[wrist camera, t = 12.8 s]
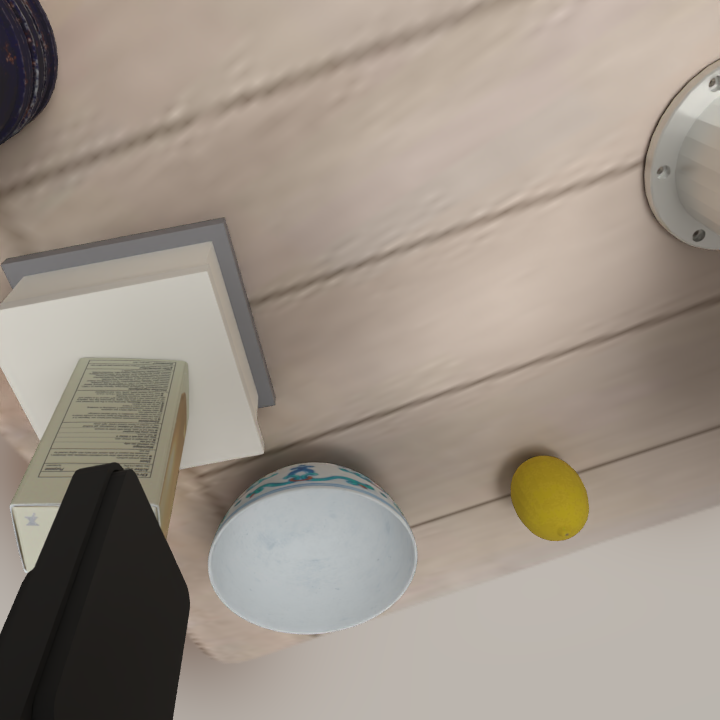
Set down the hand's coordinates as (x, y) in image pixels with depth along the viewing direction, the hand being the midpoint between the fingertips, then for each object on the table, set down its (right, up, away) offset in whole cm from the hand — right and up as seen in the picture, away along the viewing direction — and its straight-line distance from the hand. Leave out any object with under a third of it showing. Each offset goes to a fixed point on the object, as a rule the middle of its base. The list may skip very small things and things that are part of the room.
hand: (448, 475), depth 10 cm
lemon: (+13, -7, +45) cm, 47 cm away
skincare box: (-14, 0, +29) cm, 33 cm away
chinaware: (-5, -9, +44) cm, 45 cm away
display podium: (-16, +4, +35) cm, 39 cm away
